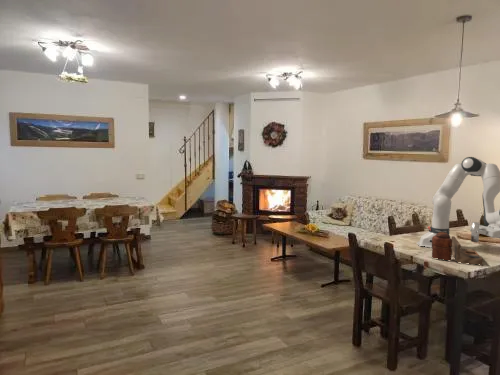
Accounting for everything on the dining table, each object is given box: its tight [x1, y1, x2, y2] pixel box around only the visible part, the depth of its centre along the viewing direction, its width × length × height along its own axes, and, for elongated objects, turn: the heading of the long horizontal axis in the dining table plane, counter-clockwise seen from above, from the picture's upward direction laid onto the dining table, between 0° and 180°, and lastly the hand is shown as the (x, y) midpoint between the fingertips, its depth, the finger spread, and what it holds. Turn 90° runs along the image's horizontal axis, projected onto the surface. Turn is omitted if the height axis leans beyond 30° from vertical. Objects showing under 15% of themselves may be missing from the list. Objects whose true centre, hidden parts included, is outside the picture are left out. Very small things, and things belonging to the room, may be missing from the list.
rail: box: [451, 235, 484, 266], centre depth 233 cm, size 14×24×12 cm, turn 159°
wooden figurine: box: [431, 232, 453, 261], centre depth 232 cm, size 12×6×18 cm, turn 57°
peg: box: [470, 221, 481, 243], centre depth 223 cm, size 4×4×12 cm
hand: (473, 231), depth 222 cm, fingers closed on peg, 4 cm apart
